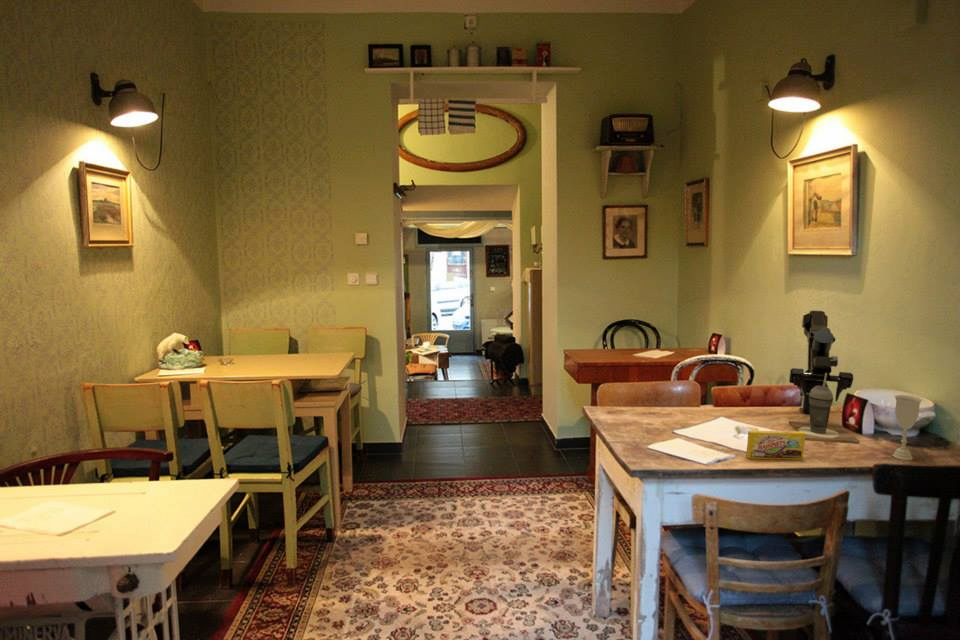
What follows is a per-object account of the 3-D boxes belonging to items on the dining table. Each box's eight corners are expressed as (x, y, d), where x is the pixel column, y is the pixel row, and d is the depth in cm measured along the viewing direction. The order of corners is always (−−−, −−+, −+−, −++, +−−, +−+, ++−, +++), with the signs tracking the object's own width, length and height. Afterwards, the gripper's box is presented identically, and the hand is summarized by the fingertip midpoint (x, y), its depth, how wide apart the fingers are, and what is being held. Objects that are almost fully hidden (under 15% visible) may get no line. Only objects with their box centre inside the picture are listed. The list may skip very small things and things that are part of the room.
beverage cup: (816, 427, 220) (821, 369, 217) (835, 433, 213) (840, 373, 210) (800, 429, 217) (805, 370, 214) (819, 436, 210) (824, 375, 208)
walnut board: (788, 422, 229) (788, 419, 229) (838, 425, 226) (838, 422, 226) (805, 439, 209) (805, 436, 209) (859, 443, 206) (859, 440, 206)
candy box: (748, 459, 191) (750, 432, 189) (745, 457, 193) (747, 430, 192) (803, 460, 191) (806, 432, 190) (800, 457, 193) (802, 430, 192)
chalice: (887, 451, 199) (893, 394, 196) (914, 455, 196) (920, 396, 194) (890, 458, 192) (896, 399, 190) (918, 462, 189) (924, 402, 187)
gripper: (792, 344, 221) (791, 383, 212) (855, 348, 214) (857, 389, 205) (789, 363, 229) (788, 401, 221) (849, 367, 222) (851, 407, 214)
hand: (820, 399), depth 215 cm, fingers open, 9 cm apart
